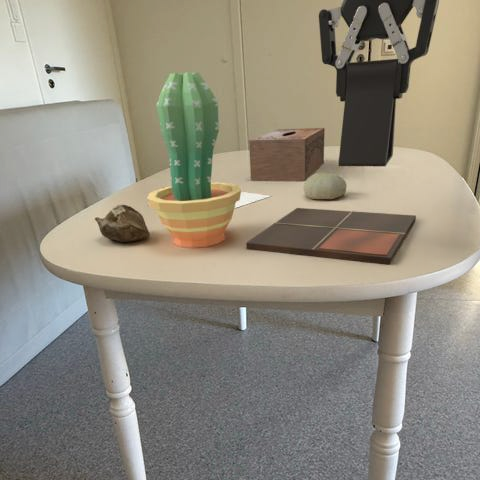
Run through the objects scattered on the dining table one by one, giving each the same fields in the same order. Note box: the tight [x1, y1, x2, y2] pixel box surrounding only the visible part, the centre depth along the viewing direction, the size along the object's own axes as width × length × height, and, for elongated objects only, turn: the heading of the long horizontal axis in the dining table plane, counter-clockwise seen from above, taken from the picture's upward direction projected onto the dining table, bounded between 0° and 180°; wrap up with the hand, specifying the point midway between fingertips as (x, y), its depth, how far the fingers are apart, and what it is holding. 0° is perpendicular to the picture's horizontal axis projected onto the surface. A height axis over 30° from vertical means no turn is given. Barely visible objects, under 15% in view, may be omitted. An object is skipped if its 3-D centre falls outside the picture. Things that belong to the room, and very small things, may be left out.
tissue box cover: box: [248, 127, 326, 182], centre depth 124 cm, size 26×14×10 cm, turn 160°
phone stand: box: [337, 58, 399, 167], centre depth 59 cm, size 9×6×12 cm, turn 157°
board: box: [245, 207, 417, 265], centre depth 74 cm, size 22×22×1 cm
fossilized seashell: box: [94, 204, 150, 243], centre depth 78 cm, size 8×7×10 cm
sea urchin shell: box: [303, 172, 348, 201], centre depth 96 cm, size 9×8×8 cm
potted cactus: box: [146, 71, 242, 249], centre depth 70 cm, size 15×15×25 cm
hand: (370, 99), depth 58 cm, fingers closed on phone stand, 6 cm apart
